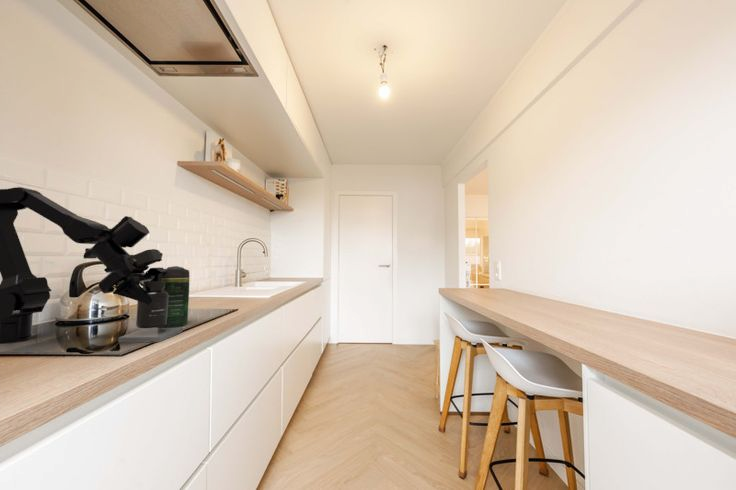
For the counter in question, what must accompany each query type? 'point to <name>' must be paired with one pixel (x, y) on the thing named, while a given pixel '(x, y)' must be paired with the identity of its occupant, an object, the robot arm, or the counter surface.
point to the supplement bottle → (153, 306)
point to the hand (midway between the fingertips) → (158, 300)
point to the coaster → (150, 335)
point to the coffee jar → (177, 295)
